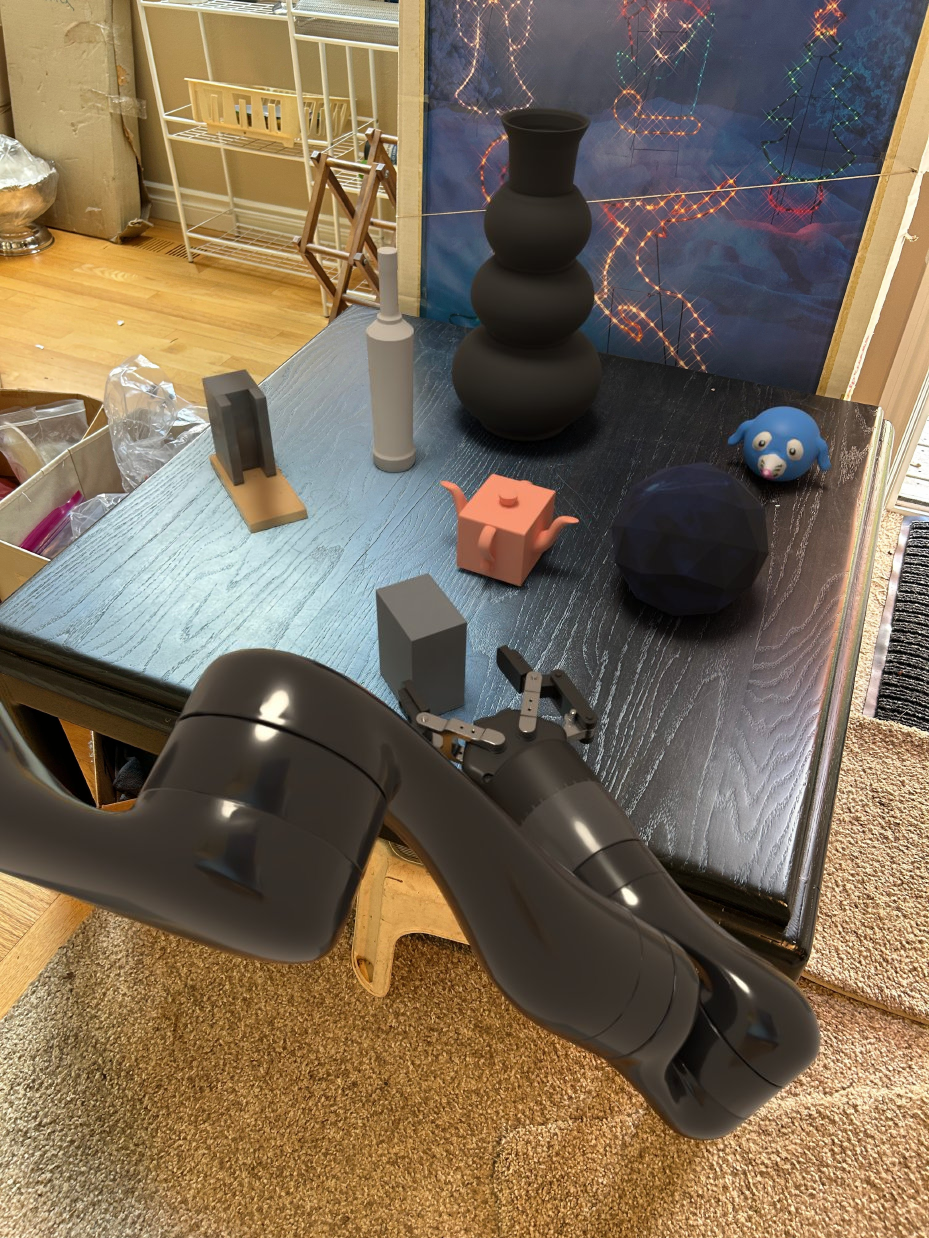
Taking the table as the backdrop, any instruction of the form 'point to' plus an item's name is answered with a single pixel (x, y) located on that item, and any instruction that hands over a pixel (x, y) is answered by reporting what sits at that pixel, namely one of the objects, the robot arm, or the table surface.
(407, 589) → the grey rectangular block
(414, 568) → the table surface
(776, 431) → the blue mole toy
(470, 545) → the teapot
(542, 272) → the vase
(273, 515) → the stand
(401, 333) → the bottle
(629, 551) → the decorative orb
